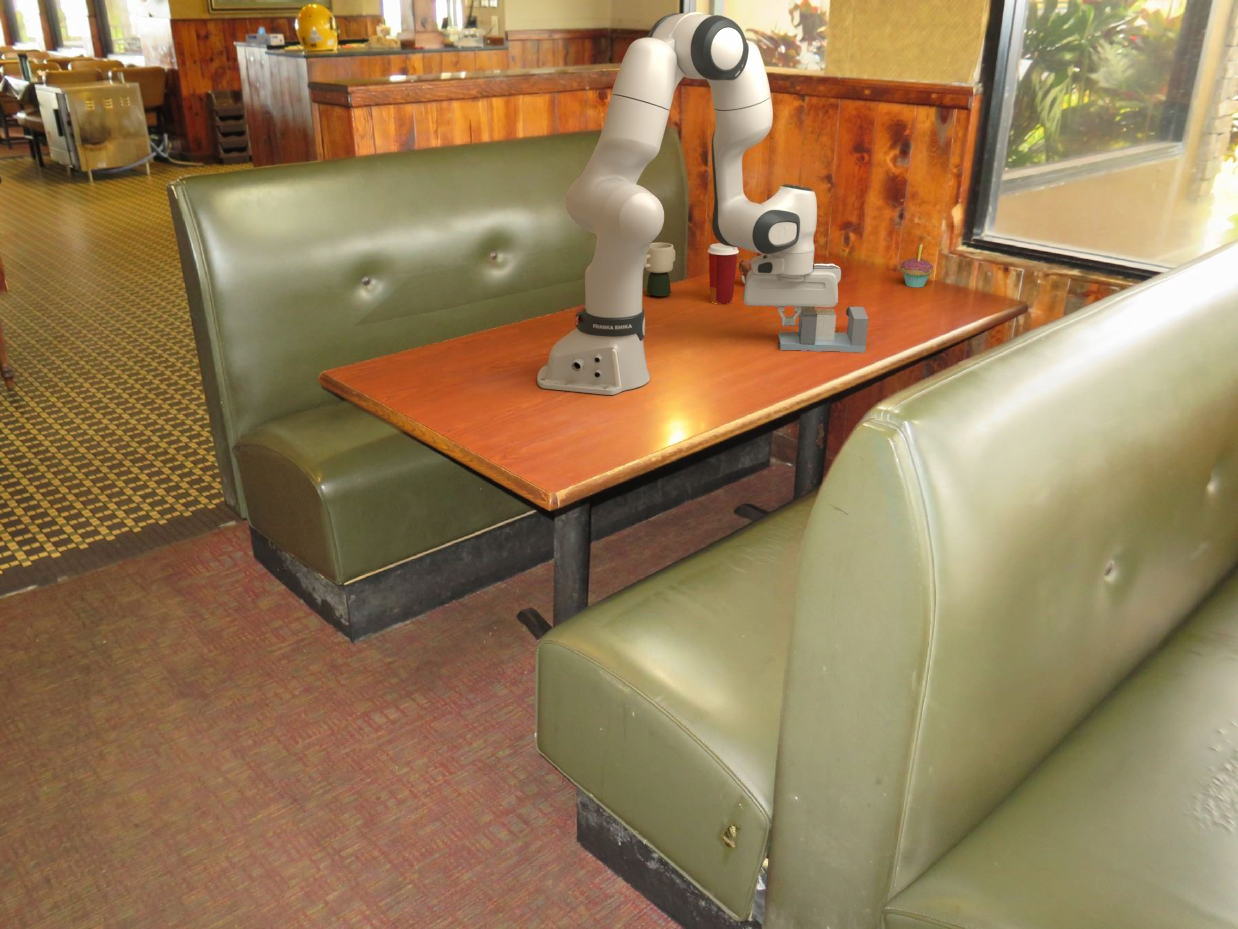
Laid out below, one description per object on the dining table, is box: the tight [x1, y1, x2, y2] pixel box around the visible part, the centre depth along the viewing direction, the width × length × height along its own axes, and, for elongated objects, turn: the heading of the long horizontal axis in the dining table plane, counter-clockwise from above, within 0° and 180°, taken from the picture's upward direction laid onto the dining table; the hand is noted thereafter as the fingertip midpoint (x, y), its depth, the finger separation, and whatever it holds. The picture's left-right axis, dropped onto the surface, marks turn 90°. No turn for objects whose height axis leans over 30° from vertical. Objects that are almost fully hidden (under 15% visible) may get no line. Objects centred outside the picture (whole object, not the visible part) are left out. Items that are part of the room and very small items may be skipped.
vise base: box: [778, 305, 869, 354], centre depth 222 cm, size 18×17×8 cm
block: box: [814, 308, 837, 342], centre depth 218 cm, size 4×5×6 cm
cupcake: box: [899, 241, 934, 288], centre depth 263 cm, size 9×8×12 cm
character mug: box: [644, 241, 676, 298], centre depth 254 cm, size 11×7×13 cm, turn 131°
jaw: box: [797, 307, 817, 344], centre depth 218 cm, size 3×9×6 cm, turn 174°
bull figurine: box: [738, 259, 752, 285], centre depth 262 cm, size 4×13×8 cm, turn 65°
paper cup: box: [707, 242, 740, 305], centre depth 249 cm, size 8×8×14 cm
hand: (788, 325), depth 219 cm, fingers closed
